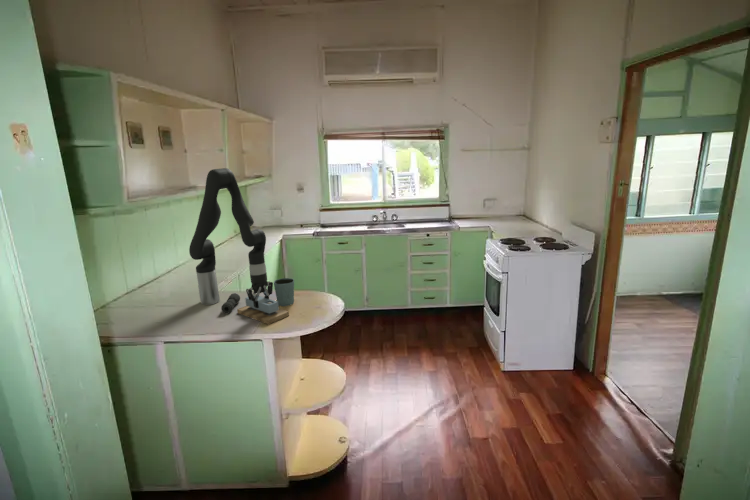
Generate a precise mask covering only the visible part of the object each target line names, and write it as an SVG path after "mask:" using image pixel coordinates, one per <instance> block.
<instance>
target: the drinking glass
mask: <svg viewBox="0 0 750 500" xmlns="http://www.w3.org/2000/svg"><path fill="white" fill-rule="evenodd" d="M273 288H274V291H275V292H274V293H275V297H276V301H277V302H278V305H279V307H288V306H291V305H293V304H294V303H295V291H294V290H295V279H294V278H290V277H284V278H278V279H274V281H273Z"/></svg>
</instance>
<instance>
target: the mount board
mask: <svg viewBox="0 0 750 500" xmlns="http://www.w3.org/2000/svg"><path fill="white" fill-rule="evenodd" d="M271 303H272V302H268V303H267V304H271ZM236 311H237V314H239V315H241V316H244V317H247V318H250V319H253V320H256V321H259V322H261V323H263V324H265V325H270V324H273V323H275V322H278V321H280V320H282V319H284V318H286V317H289V316H290V311H288V310H285V309H282V308H279V310H277V311H275V312H272V313H270V314H269V313H266V312H263V311H260V310H257V309H255V308H252V307H249V306H246V305H245V306H242V307H239V308H237V309H236Z"/></svg>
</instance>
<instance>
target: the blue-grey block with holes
mask: <svg viewBox="0 0 750 500" xmlns="http://www.w3.org/2000/svg"><path fill="white" fill-rule="evenodd" d="M244 300H245V306H249V307H252V308H255V307H254V303H253V301H251V300H249V298H248V296H247V297H245V299H244ZM257 301H258V307H259V308H255V309H257V310H260V311H263V312H266V313H269V314H270V313H272V312H275V311H277V310H279V309H280V306H279V305H278V302H277V300H274V299H270V298H269V299H267V298H264V296H261V295H259V296H258V300H257ZM268 302H272V303H271V304H267V303H268Z"/></svg>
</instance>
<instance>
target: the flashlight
mask: <svg viewBox="0 0 750 500" xmlns="http://www.w3.org/2000/svg"><path fill="white" fill-rule="evenodd" d="M240 301H241V296H240V294H239V293H237V292H232V293H231V294H230V295H229V296H228V298H227V300H226V301H225V302H224V303H223V304H222V305H221V311H222V313H224V314H230V313H231V312H232V311H234V307H235V306H236V305H238V303H239V302H240Z"/></svg>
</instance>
